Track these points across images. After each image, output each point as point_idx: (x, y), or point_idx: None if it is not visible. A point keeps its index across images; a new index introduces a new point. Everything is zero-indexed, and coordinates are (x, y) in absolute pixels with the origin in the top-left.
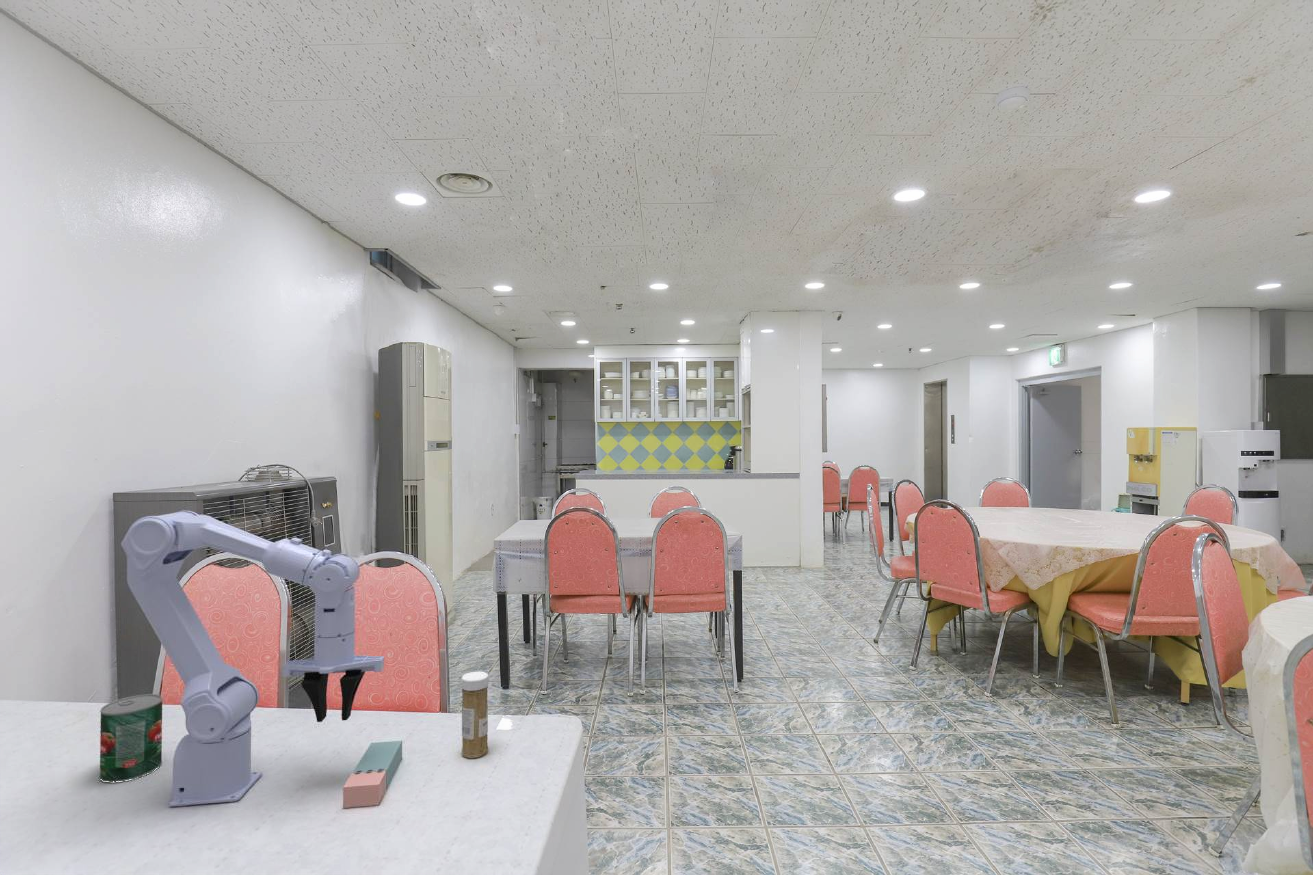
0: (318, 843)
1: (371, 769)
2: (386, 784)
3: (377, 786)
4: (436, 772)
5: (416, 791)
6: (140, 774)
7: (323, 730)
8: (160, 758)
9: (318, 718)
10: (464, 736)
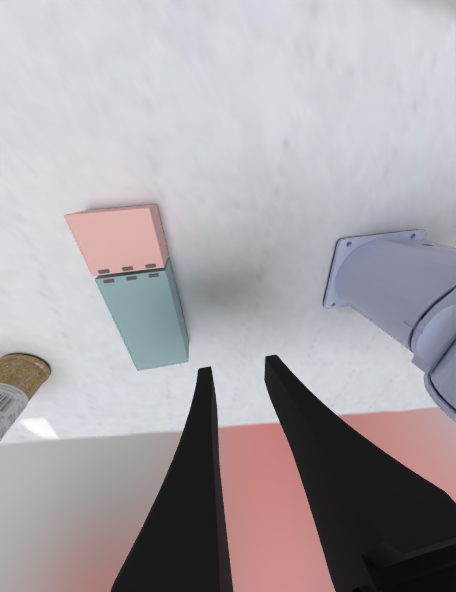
0: (129, 42)
1: (132, 282)
2: None
3: (70, 214)
4: (52, 315)
5: (43, 257)
6: None
7: None
8: None
9: (276, 361)
10: (4, 386)
